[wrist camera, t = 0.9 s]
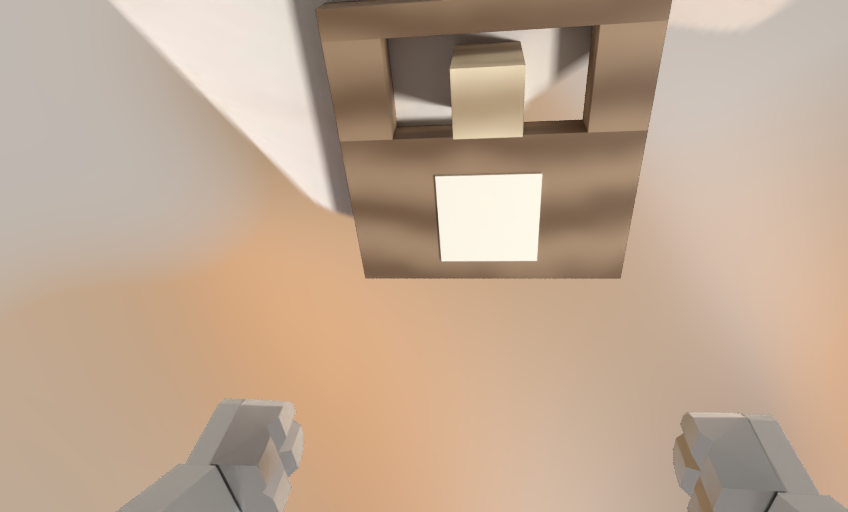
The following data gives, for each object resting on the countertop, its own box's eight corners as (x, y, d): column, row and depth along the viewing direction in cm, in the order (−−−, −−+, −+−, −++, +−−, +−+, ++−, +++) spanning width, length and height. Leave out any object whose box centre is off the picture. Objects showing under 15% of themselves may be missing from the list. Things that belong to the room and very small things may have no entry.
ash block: (455, 45, 35) (449, 68, 30) (520, 41, 35) (525, 64, 30) (457, 108, 38) (453, 139, 33) (518, 105, 37) (522, 136, 32)
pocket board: (325, 3, 34) (314, 10, 32) (663, -22, 31) (676, -16, 29) (370, 261, 47) (364, 279, 45) (614, 260, 44) (621, 279, 42)
